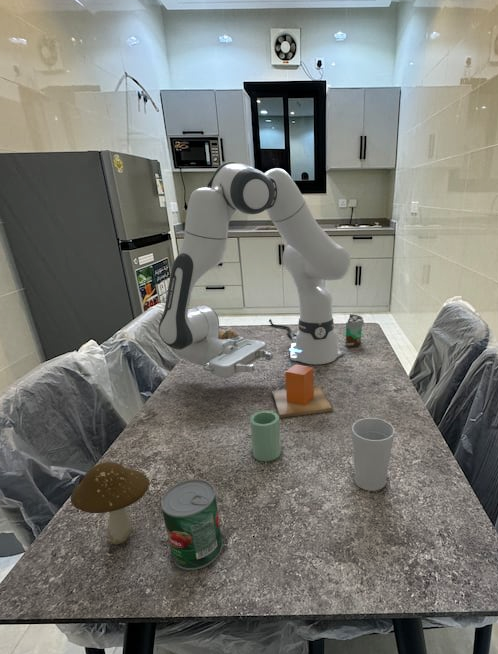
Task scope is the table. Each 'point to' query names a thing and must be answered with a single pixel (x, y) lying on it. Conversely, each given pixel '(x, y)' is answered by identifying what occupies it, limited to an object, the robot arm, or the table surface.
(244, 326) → the table surface
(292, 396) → the orange block
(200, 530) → the canned tomato
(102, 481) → the mushroom
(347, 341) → the food container
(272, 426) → the green cup
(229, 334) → the lion figurine
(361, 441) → the cup
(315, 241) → the robot arm
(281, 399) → the wooden board
